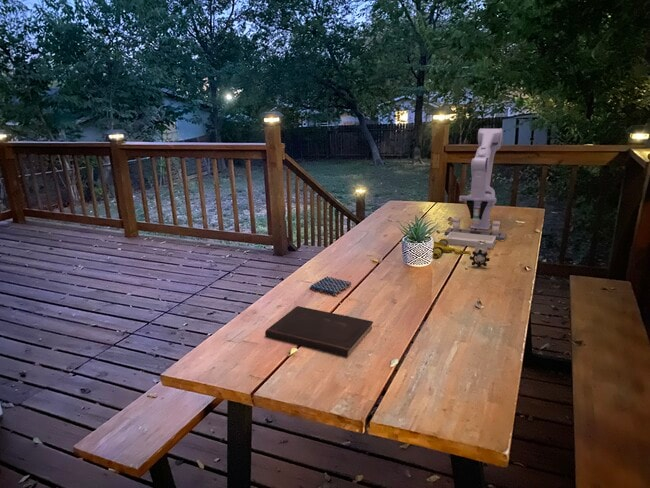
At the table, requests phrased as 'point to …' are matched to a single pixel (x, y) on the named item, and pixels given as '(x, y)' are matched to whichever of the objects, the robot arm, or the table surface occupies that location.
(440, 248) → the sprinkler
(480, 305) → the table surface
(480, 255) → the valve
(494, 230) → the cylinder
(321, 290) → the woven mat
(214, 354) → the table surface
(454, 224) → the cartridge
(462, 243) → the tray
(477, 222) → the marked cartridge
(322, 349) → the hardcover book
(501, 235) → the holder
